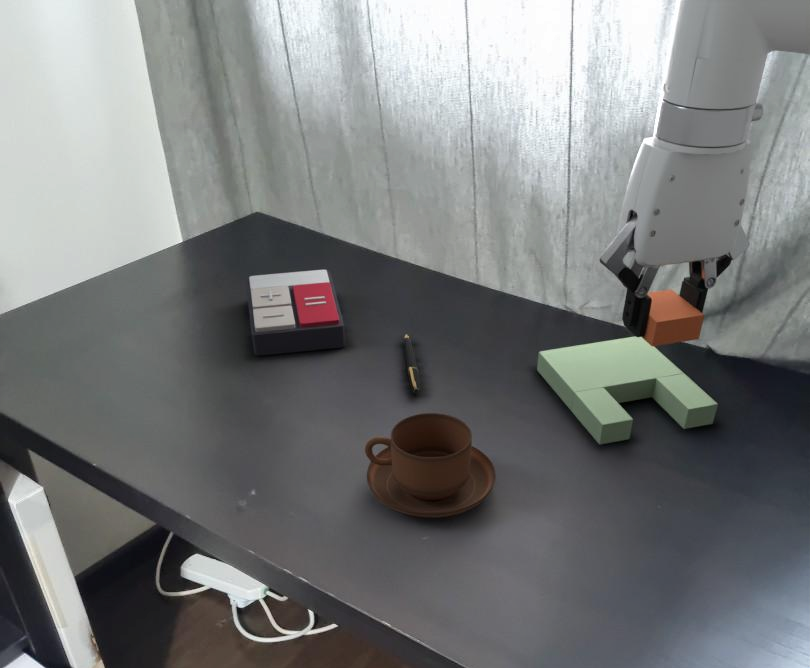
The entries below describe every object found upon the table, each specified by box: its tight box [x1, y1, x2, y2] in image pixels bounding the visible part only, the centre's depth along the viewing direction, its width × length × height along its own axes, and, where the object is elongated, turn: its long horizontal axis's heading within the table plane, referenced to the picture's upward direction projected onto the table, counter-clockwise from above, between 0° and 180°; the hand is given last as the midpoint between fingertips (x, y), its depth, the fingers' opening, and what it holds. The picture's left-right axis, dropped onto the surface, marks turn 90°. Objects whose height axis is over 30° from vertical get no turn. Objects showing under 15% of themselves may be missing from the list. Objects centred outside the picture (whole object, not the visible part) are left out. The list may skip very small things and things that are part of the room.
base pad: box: [536, 335, 719, 445], centre depth 90 cm, size 13×16×2 cm
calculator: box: [245, 269, 346, 357], centre depth 104 cm, size 11×4×15 cm
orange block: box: [621, 289, 705, 347], centre depth 80 cm, size 5×6×2 cm
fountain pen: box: [403, 333, 421, 395], centre depth 96 cm, size 14×1×2 cm, turn 5°
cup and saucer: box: [364, 412, 496, 519], centre depth 76 cm, size 12×12×6 cm
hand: (660, 325), depth 80 cm, fingers closed on orange block, 5 cm apart
